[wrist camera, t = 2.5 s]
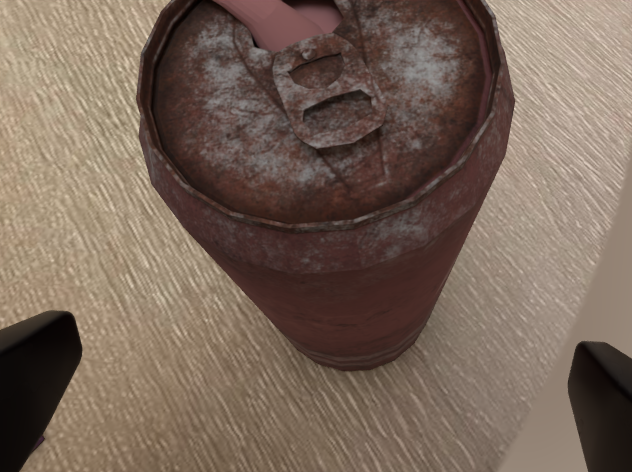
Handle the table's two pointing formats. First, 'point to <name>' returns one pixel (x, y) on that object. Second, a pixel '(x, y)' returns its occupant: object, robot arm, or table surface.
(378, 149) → the can
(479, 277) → the table surface
